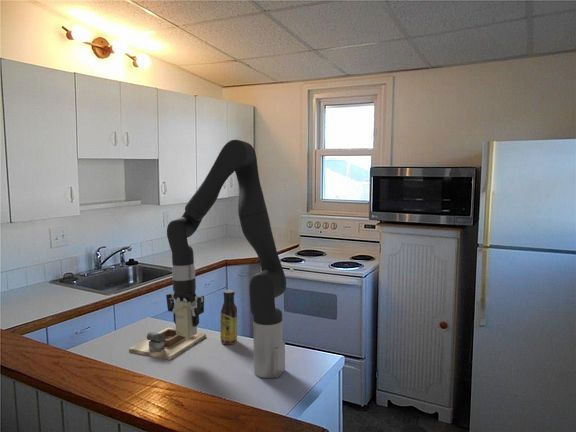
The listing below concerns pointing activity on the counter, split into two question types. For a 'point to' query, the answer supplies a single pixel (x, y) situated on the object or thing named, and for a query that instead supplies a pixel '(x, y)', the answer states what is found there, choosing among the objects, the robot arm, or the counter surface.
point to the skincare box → (184, 319)
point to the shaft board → (165, 344)
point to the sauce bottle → (228, 319)
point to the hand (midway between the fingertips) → (186, 324)
